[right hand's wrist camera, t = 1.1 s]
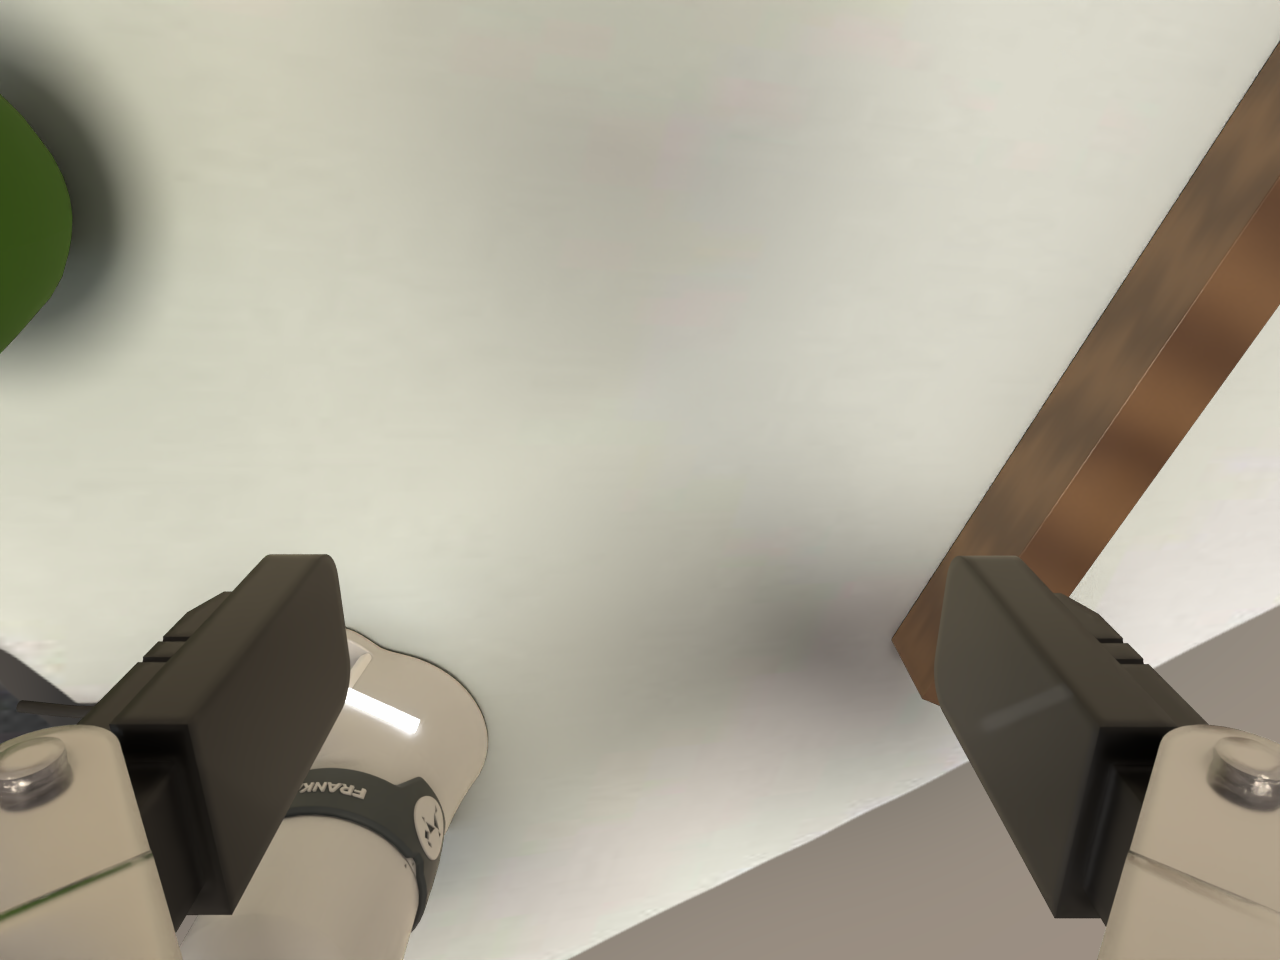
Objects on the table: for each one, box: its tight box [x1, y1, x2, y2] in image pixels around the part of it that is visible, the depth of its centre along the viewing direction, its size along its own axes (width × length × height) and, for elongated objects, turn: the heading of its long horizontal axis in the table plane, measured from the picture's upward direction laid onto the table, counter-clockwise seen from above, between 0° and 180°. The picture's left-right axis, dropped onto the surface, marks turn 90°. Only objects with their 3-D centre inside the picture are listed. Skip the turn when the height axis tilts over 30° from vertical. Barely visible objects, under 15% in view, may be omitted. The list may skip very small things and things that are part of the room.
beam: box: [892, 42, 1280, 706], centre depth 48 cm, size 51×4×7 cm, turn 155°
